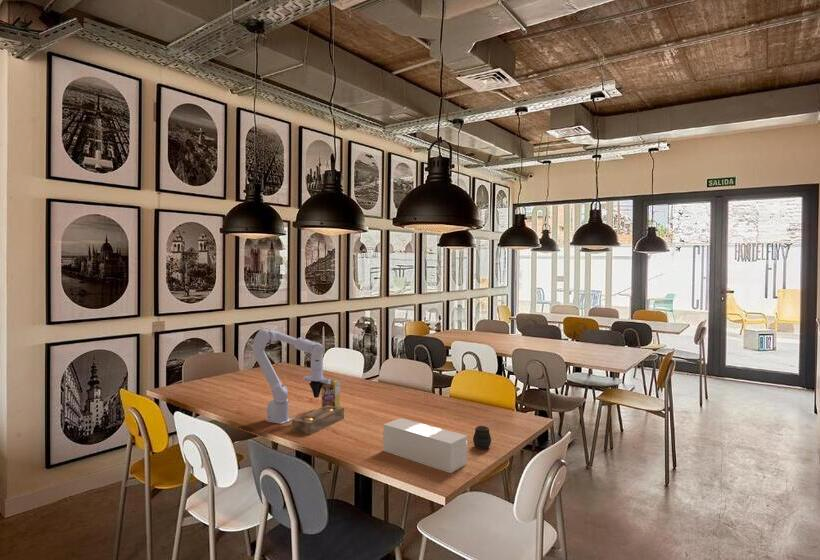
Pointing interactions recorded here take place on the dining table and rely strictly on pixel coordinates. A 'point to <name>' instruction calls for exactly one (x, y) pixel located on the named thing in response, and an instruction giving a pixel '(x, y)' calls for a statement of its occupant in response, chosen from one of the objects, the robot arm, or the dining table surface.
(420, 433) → the white box
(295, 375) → the dining table surface
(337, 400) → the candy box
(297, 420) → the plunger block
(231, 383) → the dining table surface
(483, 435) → the mate gourd
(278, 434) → the dining table surface
